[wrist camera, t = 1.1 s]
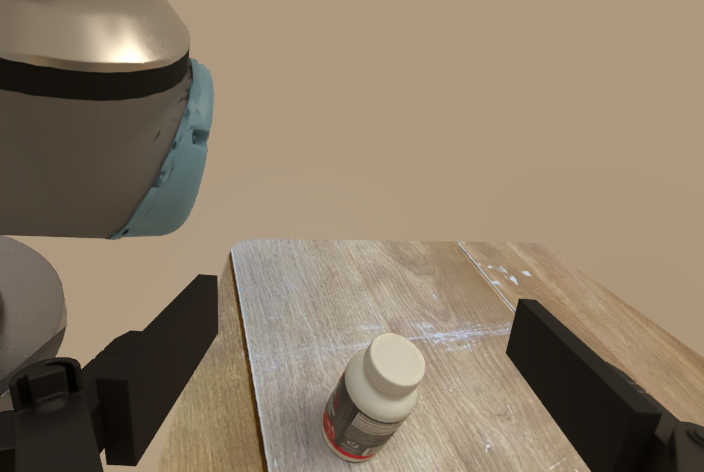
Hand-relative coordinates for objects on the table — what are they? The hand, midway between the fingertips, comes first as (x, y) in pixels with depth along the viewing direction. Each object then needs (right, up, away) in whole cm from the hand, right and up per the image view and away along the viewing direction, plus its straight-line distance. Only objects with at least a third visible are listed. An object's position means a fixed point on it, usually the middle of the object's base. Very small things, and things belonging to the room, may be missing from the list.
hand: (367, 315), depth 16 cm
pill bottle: (-1, -12, +14) cm, 18 cm away
